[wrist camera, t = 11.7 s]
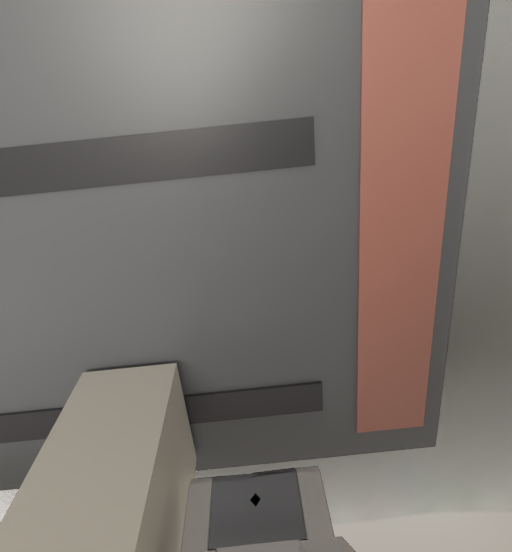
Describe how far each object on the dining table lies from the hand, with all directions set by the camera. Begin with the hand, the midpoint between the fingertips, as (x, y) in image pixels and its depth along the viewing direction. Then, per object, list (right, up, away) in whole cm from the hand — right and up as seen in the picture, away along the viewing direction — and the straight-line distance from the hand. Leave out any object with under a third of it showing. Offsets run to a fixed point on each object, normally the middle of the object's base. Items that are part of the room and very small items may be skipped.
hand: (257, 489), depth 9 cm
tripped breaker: (-3, +1, +2) cm, 4 cm away
